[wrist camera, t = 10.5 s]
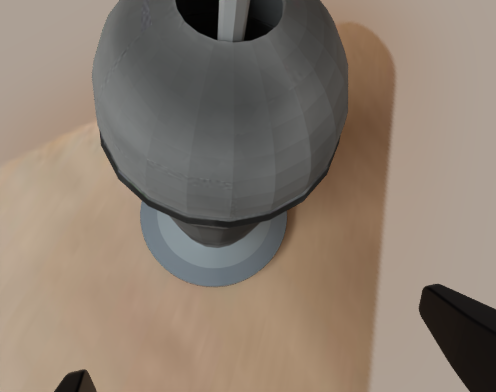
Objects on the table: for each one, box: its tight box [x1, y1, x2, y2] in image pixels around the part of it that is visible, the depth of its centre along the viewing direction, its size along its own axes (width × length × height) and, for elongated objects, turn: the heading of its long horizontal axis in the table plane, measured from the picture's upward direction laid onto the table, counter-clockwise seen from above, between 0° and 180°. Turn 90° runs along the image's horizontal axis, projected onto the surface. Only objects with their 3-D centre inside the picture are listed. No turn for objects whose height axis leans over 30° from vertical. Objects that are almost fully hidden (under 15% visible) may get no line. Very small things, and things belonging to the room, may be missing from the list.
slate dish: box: [140, 201, 287, 287], centre depth 22 cm, size 9×9×1 cm
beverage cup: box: [92, 0, 348, 248], centre depth 12 cm, size 7×7×20 cm
